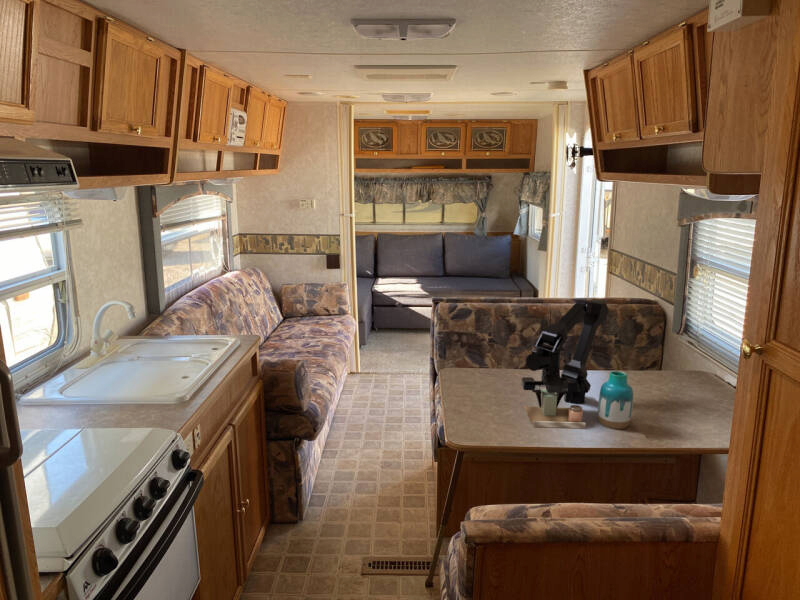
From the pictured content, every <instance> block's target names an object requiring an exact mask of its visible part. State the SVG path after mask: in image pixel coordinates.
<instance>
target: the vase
mask: <svg viewBox="0 0 800 600" xmlns="http://www.w3.org/2000/svg"><path fill="white" fill-rule="evenodd" d="M597 404H598V405H597V409H598V410H597V417H598V421H599V423H600V424H601V425H602V426H603V427H606V428H609V429H612V430H613V429H614V430H624V429H626V428H627V427H628V426H629V424H630V423H631V420H632V419H631V418H632V414H633V408H634V407H633V406H634V390H633V388H632V386H631V385H630V384H628V374H627V373H626V372H624V371H620V370H612V371H610V372H609V377H608V380H607V381H605V382H604V383H602V385H601V386H600V390H599V395H598V403H597Z"/></svg>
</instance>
